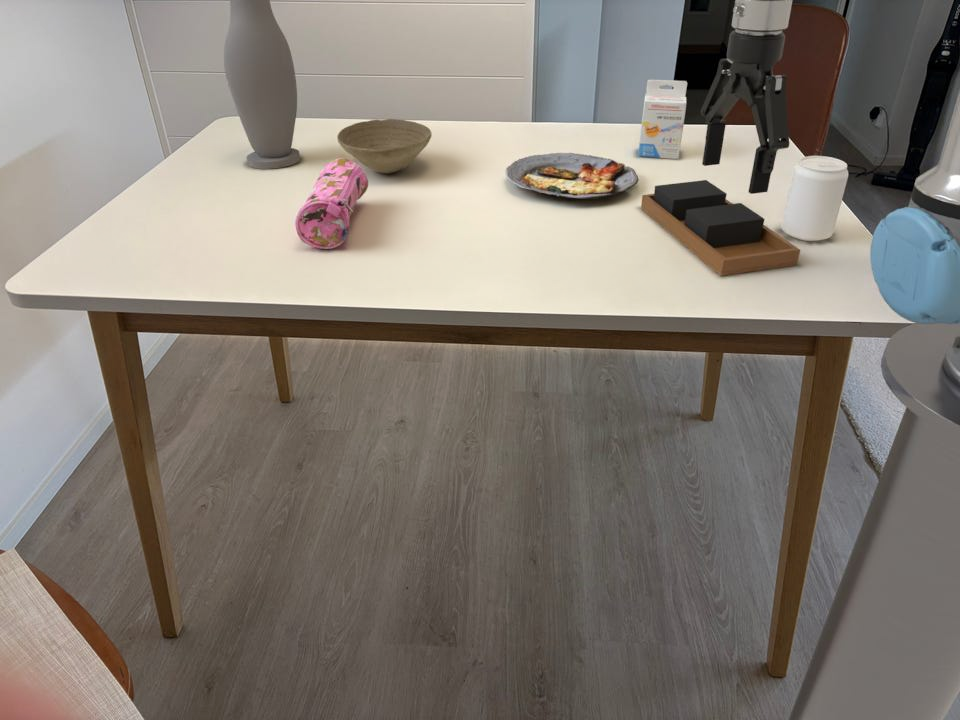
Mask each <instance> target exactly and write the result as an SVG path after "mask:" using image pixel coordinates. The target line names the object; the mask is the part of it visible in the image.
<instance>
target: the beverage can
mask: <svg viewBox="0 0 960 720" xmlns="http://www.w3.org/2000/svg"><path fill="white" fill-rule="evenodd" d="M848 178H849V170H848V164H847V163H846V162H845V161H843V160H841V159H838V158H837V157H831V156H824V155H808V156H803V157H801V158H800V159H799V160H798V163H797V164H796V165H795V166H794V168H793V171H792V177H791V180H790V185H789V190H788V194H787V197H786V198H787V199H786V203H785V207H784V211H783V216H782V220H781V224H780V225H781V226H780V228H781V230H782V232H784V233H785V234H786V235H788V236H790V237H791V238H794V239H796V240H800V241H805V242H818V241H819V242H820V241H823V240H827V239H829V238H831V237H832V236H833V235H834V231H835V228H836V225H837V221H838V216H839V213H840V209H841V206H842V201H843V197H844V194H845V190H846V186H847V182H848Z"/></svg>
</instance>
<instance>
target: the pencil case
mask: <svg viewBox="0 0 960 720" xmlns="http://www.w3.org/2000/svg"><path fill="white" fill-rule="evenodd" d="M368 188H369V180H368V176H367V174H366V172H365V171H364V170H363V168H362V167H361V166H360V165H358V164H357V163H355V162H354V161H353V160H350V159H349V158H345V157H341V158H340V157H339V158H336V159H334V160H332V161H330V162H328V163H327V164H325V165H324V167H322V170H321V172H320V173H319V175H318V178H317V179H316V181H315V184H314V185H313V188H312V190H311V192H309V193H310V194H309V196H308V197H307V199H306V201H305V203H304V204H303V205H302V206H301V208H300V209H299V211H298V212H297V215H296V217H295V221H294V222H295V223H294V224H295V225H294V226H295V231H296V233H297V236H298V238H299V239H300V240H301V241H302V243H305V244H306V245H307V246H310V247H312V248H313V247H314V248H315V249H319V250H331V249H335V248H338V247H340V246H341V245H342V244H343V243H344V242H345V241H346V240H347V238H348V235H349V232H350V218H351V216H352V214H355V213H354V209H355V207H356V205H357V202H358V201H359V200H360V199H361V198H362V197H363V196H364V194H365V193H366V192H367V191H368Z"/></svg>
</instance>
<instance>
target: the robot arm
mask: <svg viewBox="0 0 960 720" xmlns="http://www.w3.org/2000/svg"><path fill="white" fill-rule="evenodd" d="M792 5H793V0H735V1H734V7H733V10H732V12H733V15H732V20H731V27H732V28H733V29H734V30H732V31H731V32H730V33H729V37H728V44H727V51H726V58H721V59H720V60H719V62H718V66H717V71H716V75H715V77H714V79H713V81H712V83H711V86H710V87H709V89H708V93H707V94H706V97H705V100H704V102H703V104H702V107H701V109H700V115H701V116H702V117H705V123H707V126H706V133H705V142H704V149H703V156H702V162H701V163H702V164H701V165H702V166H704V167H707V166H708V167H709V166H716V165H720V163H721V158H722V157H721V156H722V150H723V143H724V140H725V139H724V137H725V132H726V127H727V126H726V125H727V123H725V122H726V121H727V118H726V117H727V116H728V114H729V113H730V112H731V111H732V109H733V107H734V106H735V105H736V104H737V102H738V101H739V100H740V99H741V100H742V101H744V102H746V104H747V107H749V108H750V109H751V113H752V117H753V120H754V125H755V129H756V134H757V136H758V142H759V146H758V147H756V149H755V153H754V159H753V165H752V170H751V176H750V179H749V180H750V181H749V186H748V192H747V193H749V194H750V195H754V194H763V193H768V191H769V186H770V181H771V175H772V173H773V171H774V167H775V166H774V165H775V162H776V157H777V153H778V150H784V149H788V148H789V147H790V132H789V122H788V111H787V108H788V107H787V95H786V89H787V83H788V82H787V81H788V77H787V75H786V74H780V75H774V74H773V73H774V71H773V70H774V69H773V68H774V65H775V64H776V63H779V62H780V61H781V60H782V57H783V52H784V48H785V47H784V46H785V41H786V35H785V33H784V32H783V31H785V30H786V29H788V27H789V21H790V16H791V11H792ZM909 199H910V200H909V203H908V206H905V207H901V208H897V209H895V210H894V211H892V212H890V213H888V214H887V215H886V217H884V218H882V219H881V220H880V221H879V222H878V224H877V226H876V228H875V230H874V232H873V235H872V238H871V242H870V253H869V254H870V255H869V257H870V258H869V259H870V260H869V261H870V268H871V273H872V277H873V280H874V282H875V284H876V286H877V288H878V292H879V294H880V296H881V297H882V299H883V300H884V302H885V303H886V305H887V306H888V307H889V308H890V309H891V310H892V311H893V313H896V314H897V315H898V316H900V318H903V319H904V320H907V321H908V322H911V323H913V324H915V323H919V324H937V323H944V324H959V323H960V88H959V90H958V93H957V97H956V99H955V103H954V107H953V110H952V114H951V117H950V121H949V125H948V128H947V132H946V135H945V138H944V142H943V145H942V150H941V153H940V156H939V160H938V162H937V164H935V166H933V167H931V168H930V169H928V170H926V171H925V172H923V173H921V174H920V175H919V176H918V177H916V178H915V182H914V185H913V188H912V193H911V195H910V198H909ZM943 365H944V369H945V371H946V373H947V375H948V376H949V377H950V379H951V380H952V381H953V382H954V383H955V384H957V385H958V386H959V387H960V333H959V334H958V335H957V336H956V337H955V338H954V339H953V341H952V342H951V344H950V345H949V347H948V349H947V352H946V354H945V357H944V360H943Z"/></svg>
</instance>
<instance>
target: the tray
mask: <svg viewBox="0 0 960 720" xmlns="http://www.w3.org/2000/svg"><path fill="white" fill-rule="evenodd" d="M653 199H654V193H648V194H642V195H641V205H640V209H641V210H642V211H643V212H644V213H646V215H647V216H649V217H650V218H651V219H653V220H654V221H655V222H656V223H657V224H659V225H660V226H661V227H662V228H663V229H664V230H665V231H667V233H669V234H670V235H671V236H672V237H674V238H675V239H676V240H677V241H679V242H680V243H681V244H682V245H683V246H684V247H685V248H687V249H688V250H689V251H690V252H692V253H693V255H695V256H696V257H697V258H699V259H700V260H701V261H702V262H704V263H705V264H706V265H707V266H708V267H709V268H710V269H712V270H713V271H714V272H715V273H716V274H718V275H719V276H720V277H724V276H731V275H738V274H744V273H751V272H758V271H764V270H771V269H777V268H779V269H780V268H785V267H793V266H797V265H798V261H799V259H800V254H801V248H799V247H797V246H796V245H795V244H793V243H792V242H790V241H789V240H788V239H785V238H784V237H782V236H781V235H780V234H778V233H776V232H775V231H774V230H772V229H771V228H769V227H768V226H767V225H765V224H763V229H762V234H761V238H760V242H754V243H747V244H740V245H732V246H725V247H718V248H713V247H711V246H710V245H709V244H708V243H706V242H705V241H704V240H703V239H701V238H700V237H699V236H698V235H696V234H695V233H694V232H693V231H691V230H690V229H689V228H688V227H686V226H685V225H684V224H685V220H682V221H679V220H678V219H676V218H675V217H674V216H673V215H671V214H670V213H669V212H668V211H666V210H665V209H664V208H663V207H661V206H660V205H659V204H658V203H656V202H655V201H654V200H653ZM729 204H733V203H732V202H731V201H730V200H728V199H726V200H725V205H729Z"/></svg>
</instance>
